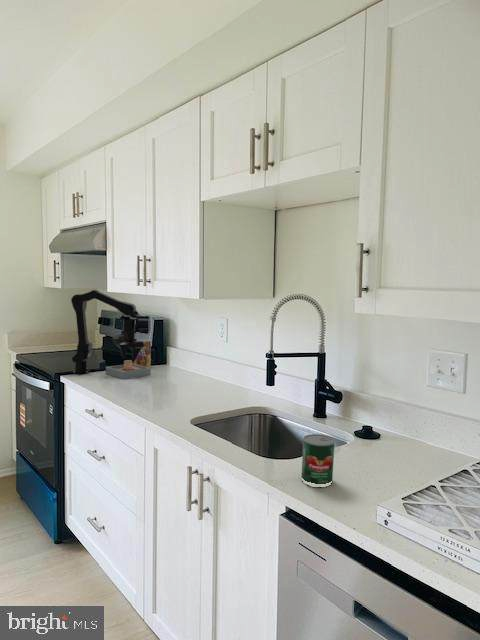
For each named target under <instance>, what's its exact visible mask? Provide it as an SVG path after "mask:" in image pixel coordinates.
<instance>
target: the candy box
mask: <svg viewBox="0 0 480 640" xmlns="http://www.w3.org/2000/svg"><path fill="white" fill-rule="evenodd" d="M137 341H143V343H144V347H143V348H142V349H141V350H140V352H139V354H138V356H137V358H136V360H135V361H133V364H137V365H140V366H144V367H148V368H151V364H152V362H151V360H152V358H151V356H152V355H151V354H152V353H151V352H152V350H151V349H152V347H151V346H152V345H151V343H152V340H151V339H137Z"/></svg>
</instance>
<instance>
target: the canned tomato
mask: <svg viewBox="0 0 480 640" xmlns="http://www.w3.org/2000/svg"><path fill="white" fill-rule="evenodd" d="M302 440H303V442H302V443H303V444H302V457H301V458H302V459H301V462H302V463H301V478H303V479H304V480H305V481H307V482H311V483H315V484H326V483H329V482H331V481H332V482H333V478H334V477H333V476H334V475H333V473H334V462H335V461H334V458H335V456H334V455H335V443H336V442H335V440H336V439H334V438H333V437H332V436H328V435H325V434H321V433H320V434H318V433H315V434H307V435H305V436H303V438H302Z"/></svg>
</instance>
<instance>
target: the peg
mask: <svg viewBox="0 0 480 640" xmlns="http://www.w3.org/2000/svg"><path fill="white" fill-rule="evenodd" d="M132 364H133V359H126V360H124V361H123V365H124V371H131V370H132Z"/></svg>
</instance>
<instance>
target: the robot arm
mask: <svg viewBox="0 0 480 640" xmlns="http://www.w3.org/2000/svg"><path fill="white" fill-rule="evenodd" d="M94 299H95V300H97V301H100V302H102V303H104V304H106V305H108V306H111V307H113V308H115V309H116V310H118V311H119V312H120V313H122V314H121V316H120V317H119V319H118V320H120V321H122V323H123V324H122V326H123V327H122V329H123V330H121V331H120V334H117V335H115V336H113V337H112V338H111V339H112V342H113V344H114V345H115V346H116V347H118V348H119V351H120V354H121V356H122V359H126V357H127V351H128V347H129V349H130V350H131V360H132V362H134V361H135V360H136V358H137V356H138V354H139V352H140V350H141V349H142V348H143V347H144V343H143V341H137V340H138V339H137V338H135V337H136V334H137V330H136V328H137V329H138V330H150V329H151V318H150V315H140V314H139V312H138V310H137V307H136V305H135V304H133V303H130V302H127V301H122V300H119V299H116V298H114V297H113V296H110V295H107V294H105V293H103V292H101V291H99V290H98V289H94V290H91V291H88V292H85V293H79V294H75V295H73V296H72V297H71V299H70V301H71V305H72V308H73V310H74V312H75V319H76V326H77V328H76V329H77V338H78V339H77V340H78V342H77V345H76V354H74V355H73V357H72V358H71V360H72V362H73V363H74V370H72V371H73V374H75V375H82V374H90V371H88V370H87V360H88V359H89V357H90V356H91V355H92V354H93V351H94V347H93V342H90V341H89V339H88V338H89V337H88V329H87V316H86V310H87V307H88V302H90V301H92V300H94Z"/></svg>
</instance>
